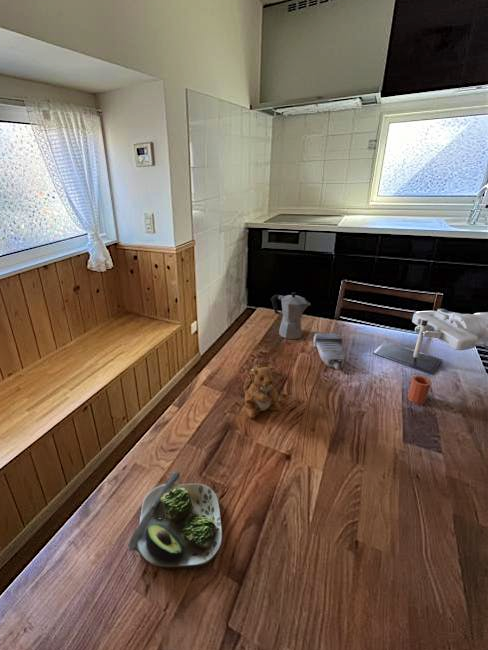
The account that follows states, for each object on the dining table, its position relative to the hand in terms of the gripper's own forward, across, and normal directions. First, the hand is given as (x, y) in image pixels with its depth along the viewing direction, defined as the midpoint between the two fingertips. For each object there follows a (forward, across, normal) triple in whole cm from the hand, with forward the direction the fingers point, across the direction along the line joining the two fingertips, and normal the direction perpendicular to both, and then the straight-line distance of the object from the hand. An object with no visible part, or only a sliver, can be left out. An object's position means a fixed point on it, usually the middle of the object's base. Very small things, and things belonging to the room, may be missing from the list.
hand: (419, 331), depth 109 cm
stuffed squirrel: (+56, -11, -12) cm, 59 cm away
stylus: (-1, 0, -10) cm, 11 cm away
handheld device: (+24, +8, -12) cm, 28 cm away
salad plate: (+83, -45, -12) cm, 95 cm away
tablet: (0, +2, -12) cm, 12 cm away
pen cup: (+12, -18, -12) cm, 24 cm away
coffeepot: (+33, +26, -12) cm, 44 cm away
